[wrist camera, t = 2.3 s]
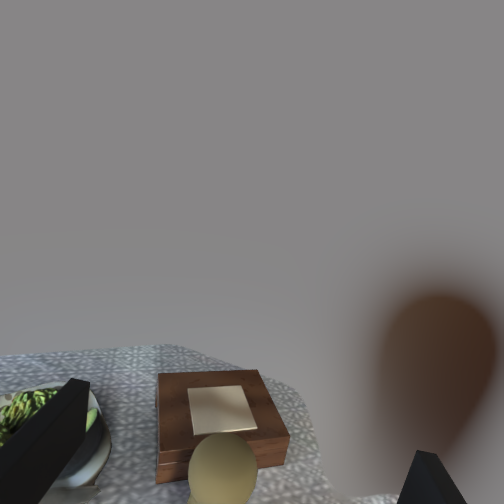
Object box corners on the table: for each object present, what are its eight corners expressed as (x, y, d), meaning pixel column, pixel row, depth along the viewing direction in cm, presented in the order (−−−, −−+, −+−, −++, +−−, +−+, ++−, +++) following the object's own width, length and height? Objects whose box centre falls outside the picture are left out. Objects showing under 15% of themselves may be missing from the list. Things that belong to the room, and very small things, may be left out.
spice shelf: (283, 465, 35) (290, 434, 34) (155, 484, 31) (159, 450, 30) (252, 392, 46) (257, 368, 45) (155, 398, 42) (158, 371, 41)
